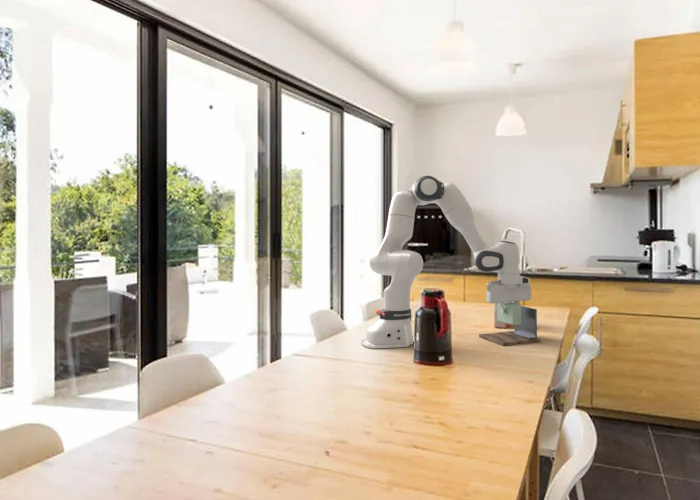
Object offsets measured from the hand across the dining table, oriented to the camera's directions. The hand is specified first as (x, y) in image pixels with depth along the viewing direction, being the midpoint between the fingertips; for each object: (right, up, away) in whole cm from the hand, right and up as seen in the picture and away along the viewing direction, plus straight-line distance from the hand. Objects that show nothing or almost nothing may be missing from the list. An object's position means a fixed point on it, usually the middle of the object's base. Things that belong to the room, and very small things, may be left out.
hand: (509, 312), depth 219 cm
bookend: (+6, -10, +2) cm, 12 cm away
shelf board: (0, -11, 0) cm, 11 cm away
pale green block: (0, -4, 0) cm, 4 cm away
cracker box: (+7, -10, +30) cm, 32 cm away
